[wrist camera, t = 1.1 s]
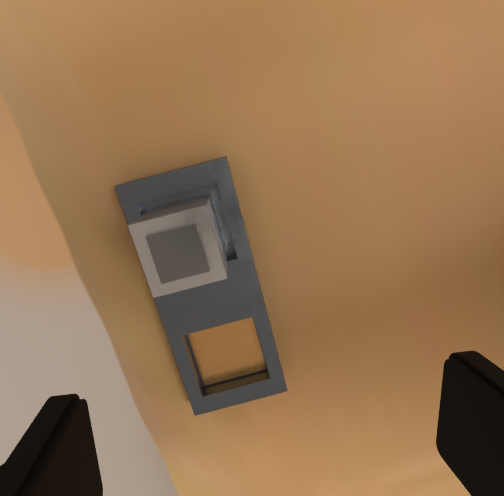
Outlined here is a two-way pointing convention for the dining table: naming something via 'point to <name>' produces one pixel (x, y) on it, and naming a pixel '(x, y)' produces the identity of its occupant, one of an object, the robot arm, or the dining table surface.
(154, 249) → the block
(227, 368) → the rail
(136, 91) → the dining table surface
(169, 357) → the dining table surface
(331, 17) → the dining table surface
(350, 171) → the dining table surface
